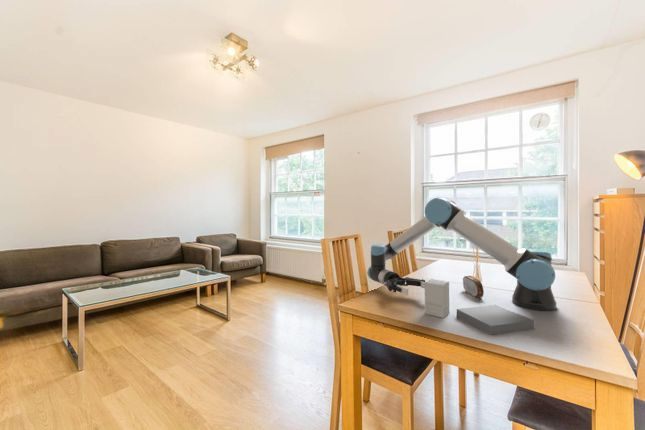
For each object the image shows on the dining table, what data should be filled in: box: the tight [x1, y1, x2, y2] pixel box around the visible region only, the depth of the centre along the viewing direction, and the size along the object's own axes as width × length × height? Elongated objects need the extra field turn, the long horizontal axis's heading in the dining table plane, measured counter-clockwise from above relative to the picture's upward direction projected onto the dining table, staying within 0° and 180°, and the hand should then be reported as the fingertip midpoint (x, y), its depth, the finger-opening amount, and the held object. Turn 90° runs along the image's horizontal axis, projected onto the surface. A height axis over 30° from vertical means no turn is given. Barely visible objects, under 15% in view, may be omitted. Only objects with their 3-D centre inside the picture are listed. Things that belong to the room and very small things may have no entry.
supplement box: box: [424, 278, 450, 319], centre depth 111 cm, size 7×7×13 cm
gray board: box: [456, 304, 535, 336], centre depth 102 cm, size 18×16×3 cm
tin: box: [462, 275, 485, 299], centre depth 134 cm, size 15×3×8 cm, turn 178°
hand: (420, 289), depth 119 cm, fingers open, 13 cm apart
